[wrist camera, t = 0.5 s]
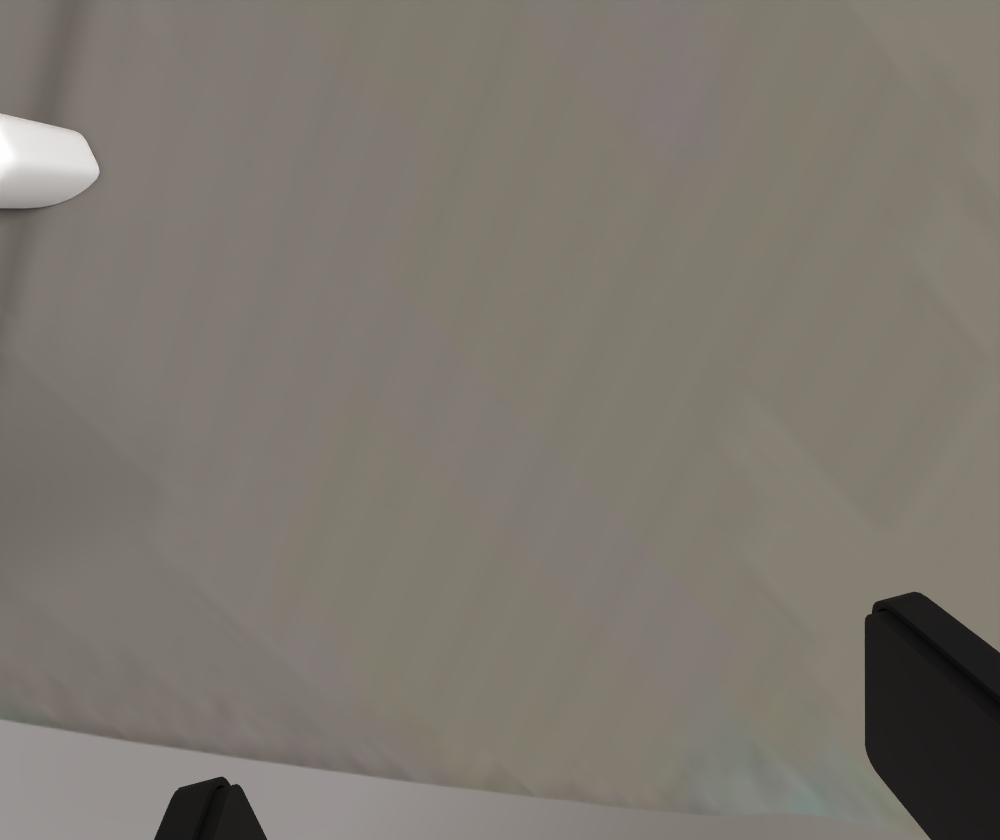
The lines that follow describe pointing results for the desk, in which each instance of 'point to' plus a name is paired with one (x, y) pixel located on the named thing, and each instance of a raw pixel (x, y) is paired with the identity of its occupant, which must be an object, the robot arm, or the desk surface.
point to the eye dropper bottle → (42, 163)
